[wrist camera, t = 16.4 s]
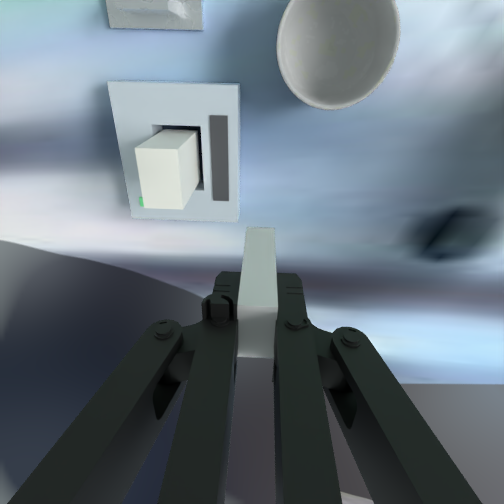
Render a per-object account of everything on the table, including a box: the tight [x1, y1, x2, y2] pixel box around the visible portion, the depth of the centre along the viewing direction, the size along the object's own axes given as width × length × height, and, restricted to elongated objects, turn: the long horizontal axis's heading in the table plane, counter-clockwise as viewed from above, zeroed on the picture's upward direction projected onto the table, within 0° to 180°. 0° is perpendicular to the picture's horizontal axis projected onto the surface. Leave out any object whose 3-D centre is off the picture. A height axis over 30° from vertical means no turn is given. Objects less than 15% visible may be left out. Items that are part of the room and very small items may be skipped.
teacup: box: [276, 0, 400, 110], centre depth 31 cm, size 14×11×8 cm
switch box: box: [107, 80, 240, 223], centre depth 39 cm, size 14×16×4 cm
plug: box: [135, 129, 201, 210], centre depth 36 cm, size 4×6×12 cm, turn 179°
